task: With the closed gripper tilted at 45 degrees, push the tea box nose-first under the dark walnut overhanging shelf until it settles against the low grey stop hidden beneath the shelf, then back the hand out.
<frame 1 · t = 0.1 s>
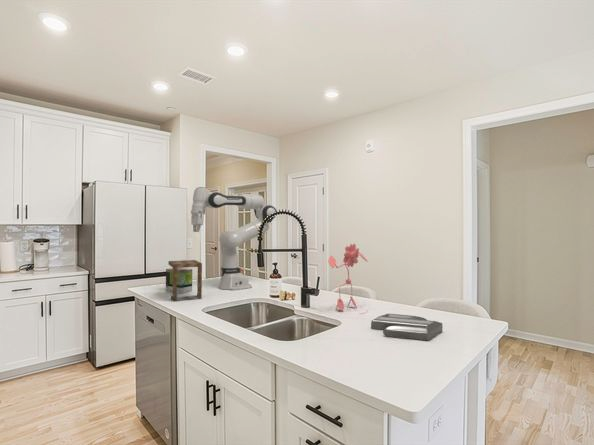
hand: (196, 231, 220), 39 cm above the worktop, tool pointing down, fingers open, 8 cm apart
tea box: (178, 291, 218), on the worktop
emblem: (406, 331, 142), on the worktop
pink flower figurine: (351, 311, 173), on the worktop
walnut shelf: (184, 296, 201), on the worktop
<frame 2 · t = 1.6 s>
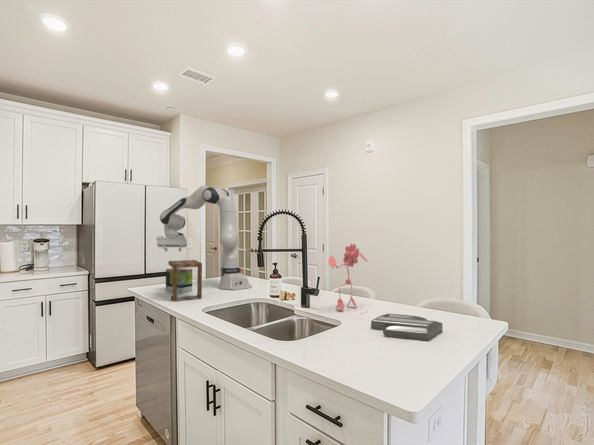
hand: (173, 250, 237), 25 cm above the worktop, tool tilted 45°, fingers open, 8 cm apart
nothing on the worktop moved.
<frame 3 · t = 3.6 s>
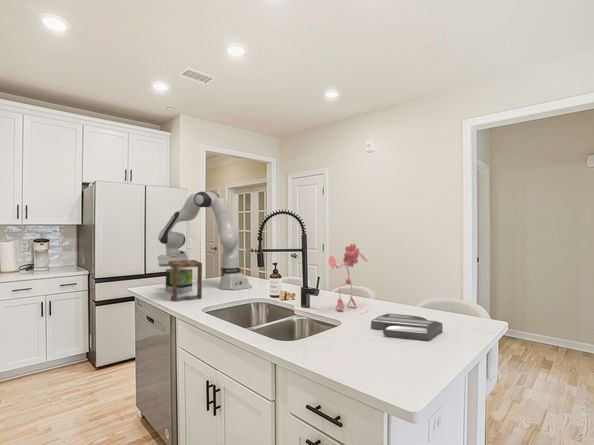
hand: (174, 270, 234), 11 cm above the worktop, tool tilted 45°, fingers closed
nothing on the worktop moved.
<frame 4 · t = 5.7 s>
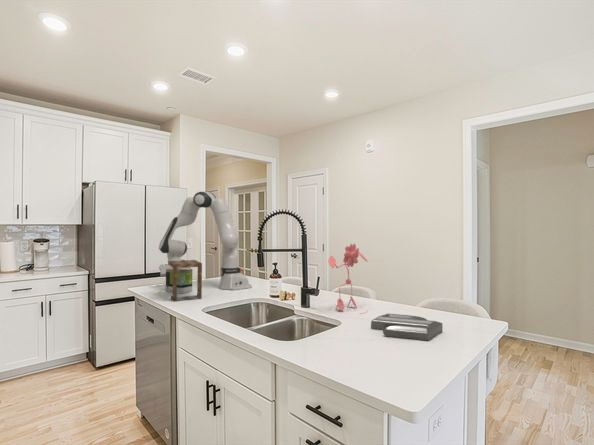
hand: (176, 280, 225), 6 cm above the worktop, tool tilted 45°, fingers closed
tea box: (178, 291, 217), on the worktop, touching gripper
everything else where it was.
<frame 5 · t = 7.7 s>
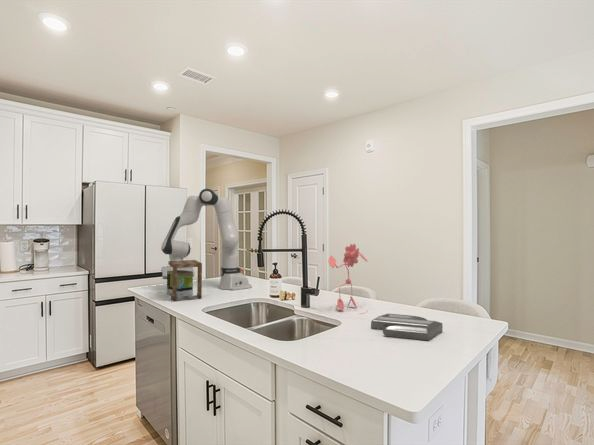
hand: (179, 282, 216), 6 cm above the worktop, tool tilted 45°, fingers closed
tea box: (179, 294, 207), on the worktop, touching gripper
everything else where it was.
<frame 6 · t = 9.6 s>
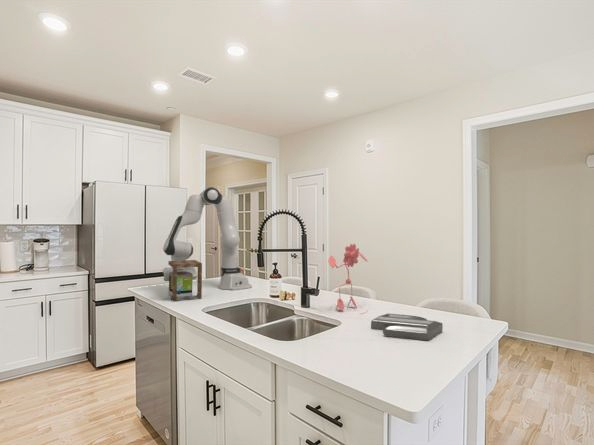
hand: (181, 284, 208), 6 cm above the worktop, tool tilted 45°, fingers closed
tea box: (180, 297, 200), on the worktop, touching gripper, walnut shelf
everything else where it was.
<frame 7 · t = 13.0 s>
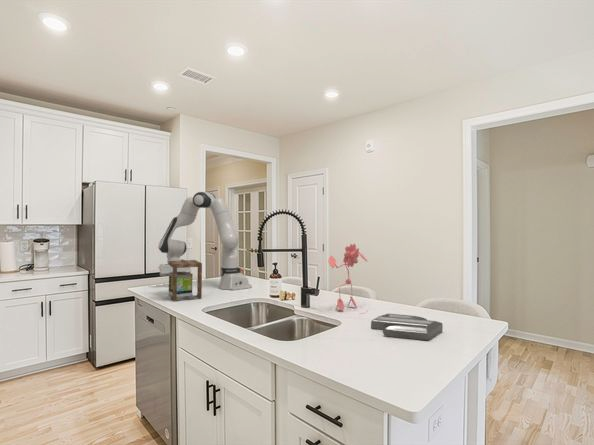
hand: (176, 279, 226), 6 cm above the worktop, tool tilted 45°, fingers closed
tea box: (180, 297, 200), on the worktop
everything else where it was.
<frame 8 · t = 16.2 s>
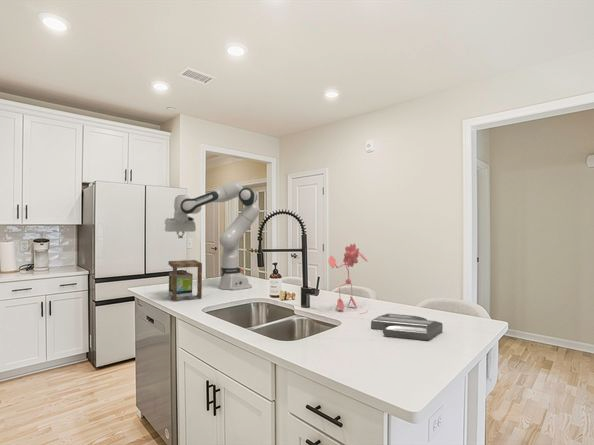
hand: (180, 238, 232), 34 cm above the worktop, tool pointing down, fingers closed
nothing on the worktop moved.
at the end: tea box 2.3 cm off-centre on the walnut shelf, point 0.0 cm above the walnut shelf's base; tea box tilted 0°; tea box moved 19.1 cm from its start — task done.
